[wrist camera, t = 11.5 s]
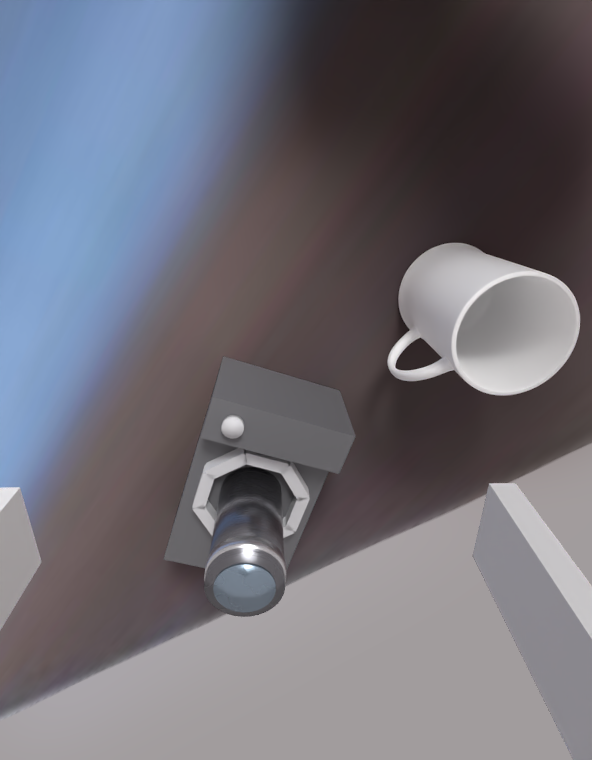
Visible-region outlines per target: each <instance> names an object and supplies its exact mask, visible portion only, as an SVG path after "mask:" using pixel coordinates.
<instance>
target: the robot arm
mask: <svg viewBox="0 0 592 760" xmlns="http://www.w3.org/2000/svg"><path fill="white" fill-rule="evenodd" d="M473 557H474V560H475V562H476V564H477V566H478V568H479V570H480V572H481V574H482V576H483V578H484V580H485V582H486V584H487V586H488V588H489V590H490V592H491V594H492V596H493V598H494V600H495V602H496V604H497V606H498V608H499V610H500V612H501V614H502V617H503V618H504V621H505V623H506V625H507V627H508V629H509V631H510V632H511V635H512V637H513V639H514V641H515V643H516V645H517V647H518V649H519V651H520V653H521V655H522V657H523V659H524V661H525V663H526V665H527V667H528V669H529V671H530V673H531V675H532V677H533V679H534V681H535V683H536V685H537V687H538V689H539V692H540V693H541V696H542V697H543V700H544V702H545V704H546V706H547V708H548V710H549V712H550V714H551V716H552V718H553V720H554V722H555V724H556V726H557V728H558V730H559V732H560V734H561V736H562V738H563V740H564V742H565V744H566V746H567V748H568V750H569V752H570V754H571V756H572V758H573V760H592V585H591V584H590V583H589V581H588V580H587V579H586V577H585V576H584V575H583V573H582V572H581V571H580V569H579V568H578V566H577V565H576V564H575V563H574V561H573V560H572V558H571V557H570V556H569V555H568V553H567V552H566V550H565V549H564V548H563V546H562V545H561V544H560V542H559V541H558V540H557V538H556V537H555V536H554V534H553V533H552V531H551V530H550V529H549V528H548V526H547V525H546V523H545V522H544V521H543V519H542V518H541V517H540V515H539V514H538V513H537V511H536V510H535V509H534V507H533V506H532V505H531V503H530V502H529V500H528V499H527V498H526V496H525V495H524V494H523V492H522V491H521V490H520V488H519V487H518V486H517V484H516V483H489V487H488V491H487V495H486V500H485V504H484V508H483V513H482V518H481V521H480V526H479V530H478V535H477V539H476V543H475V548H474V552H473ZM40 564H41V558H40V555H39V551H38V548H37V545H36V541H35V538H34V534H33V531H32V527H31V524H30V521H29V517H28V514H27V510H26V507H25V503H24V500H23V496H22V493H21V490H20V488H0V630H1V628H2V627H3V625H4V623H5V622H6V620H7V618H8V617H9V615H10V613H11V612H12V610H13V609H14V607H15V605H16V604H17V602H18V600H19V599H20V597H21V595H22V594H23V592H24V590H25V589H26V587H27V585H28V584H29V582H30V580H31V579H32V577H33V575H34V574H35V572H36V570H37V569H38V567H39V565H40Z"/></svg>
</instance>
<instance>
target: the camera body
mask: <svg viewBox="0 0 592 760" xmlns="http://www.w3.org/2000/svg"><path fill="white" fill-rule="evenodd" d="M355 437H356V436H355V433H354V430H353V428H352V425H351V422H350V419H349V416H348V413H347V410H346V407H345V404H344V401H343V398H342V396H341V393H340V391H339V390H336V389H333V388H329V387H326V386H323V385H319V384H316V383H312V382H309V381H306V380H302V379H299V378H295V377H292V376H289V375H285V374H282V373H278V372H275V371H272V370H268V369H265V368H262V367H258V366H255V365H251V364H248V363H245V362H241V361H238V360H234V359H231V358H228V357H224V356H223V359H222V362H221V366H220V369H219V372H218V376H217V379H216V382H215V386H214V389H213V392H212V396H211V399H210V403H209V406H208V409H207V413H206V416H205V419H204V423H203V426H202V429H201V433H200V436H199V439H198V443H197V446H196V449H195V453H194V456H193V459H192V463H191V466H190V469H189V473H188V476H187V479H186V483H185V486H184V490H183V493H182V496H181V500H180V503H179V506H178V510H177V513H176V516H175V520H174V524H173V527H172V531H171V534H170V538H169V541H168V545H167V549H166V552H165V556H164V560H168V561H173V562H178V563H182V564H187V565H192V566H197V567H201V568H205V567H206V562H207V558H208V556H209V553H210V547H211V541H212V535H213V530H214V524H215V518H216V512H217V506H218V500H219V494H220V489H221V485H222V483H223V481H224V480H225V478H226V477H227V476H228V475H229V474H231V473H232V472H234V471H236V470H238V469H241V468H246V467H256V468H261V469H264V470H266V471H268V472H270V473H271V474H272V475H274V476H275V477H276V478H277V480H278V481H279V483H280V485H281V489H282V512H283V541H284V558H285V562H286V570H287V568H288V565H289V563H290V561H291V558H292V556H293V554H294V551H295V549H296V547H297V544H298V542H299V540H300V537H301V535H302V533H303V530H304V528H305V526H306V523H307V521H308V519H309V516H310V514H311V512H312V509H313V507H314V505H315V503H316V500H317V498H318V496H319V493H320V491H321V489H322V486H323V484H324V482H325V479H326V477H327V475H328V472H333V473H337V474H339V473H340V471H341V468H342V466H343V464H344V462H345V459H346V457H347V455H348V453H349V450H350V448H351V446H352V443H353V441H354V439H355Z"/></svg>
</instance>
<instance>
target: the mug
mask: <svg viewBox="0 0 592 760" xmlns="http://www.w3.org/2000/svg"><path fill="white" fill-rule="evenodd" d="M398 303H399V310H400V314H401V316H402V319H403V321H404V323H405V324H406V326H407V327H408V328H409V329H410V330H409V331H408V332H407V333H406V334H405V335H404V336H403V337H402V338H401V339H400V340H399V341H398V342H397V343H396V344H395V345H394V347H393V348H392V350H391V352H390V354H389V356H388V361H387V364H388V368H389V370H390V372H391V373H392V375H394V376H395V377H396V378H398V379H400V380H404V381H419V380H424V379H429V378H432V377H435V376H438V375H441V374H443V373H446V372H448V371H453V370H455V371H456V372H457V373H458V374H459V375H460V376H461V377H462V378H463V379H464V380H465V381H466V382H467V383H468V384H469V385H471V386H472V387H474V388H475V389H477V390H479V391H482V392H484V393H488V394H492V395H514V394H519V393H522V392H526V391H528V390H531V389H533V388H535V387H537V386H539V385H541V384H542V383H544V382H545V381H547V380H548V379H549V378H551V377H552V376H553V375H554V374H555V373H556V372H557V371H558V370H559V369H560V368H561V367H562V366H563V365H564V363H565V362H566V361H567V359H568V358H569V356H570V355H571V353H572V351H573V349H574V347H575V344H576V341H577V338H578V334H579V329H580V313H579V308H578V304H577V301H576V299H575V297H574V295H573V294H572V292H571V291H570V289H569V288H568V287H567V286H566V285H565V284H564V283H563V282H561V281H560V280H559V279H557V278H555V277H553V276H551V275H549V274H546V273H544V272H540V271H537V270H534V269H531V268H528V267H525V266H522V265H519V264H516V263H513V262H510V261H507V260H504V259H500V258H497V257H494V256H491V255H488V254H485V253H483V252H482V251H481V250H479V249H478V248H476V247H474V246H471V245H468V244H464V243H447V244H442V245H439V246H436V247H433V248H431V249H429V250H428V251H426V252H424V253H423V254H422V255H420V256H419V257H418V258H417V259H416V260H415V261H414V262H413V263H412V264H411V266H410V267H409V268H408V270H407V271H406V273H405V275H404V277H403V279H402V282H401V285H400V289H399V296H398ZM418 338H422V339H424V340H425V341H426V342H427V343H428V344H429V345H430V346H431V347H432V348H433V349H434V350H435V351H436V352H437V353H438V354H439V355H440V356H441V357H442V359H440V360H439V361H437V362H435V363H433V364H431V365H429V366H426V367H423V368H419V369H415V370H408V371H404V370H398V369H396V368H395V365H396V361H397V359H398V357H399V356H400V354H401V353H402V352H403V350H404V349H405V348H406V347H407V346H408V345H410V344H411V343H412V342H413V341H415V340H416V339H418Z"/></svg>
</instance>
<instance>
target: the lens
mask: <svg viewBox="0 0 592 760" xmlns="http://www.w3.org/2000/svg"><path fill="white" fill-rule="evenodd" d="M285 583H286V562H285V558H284V541H283V512H282V489H281V485H280V483H279V481H278V480H277V478H276V477H275V476H274V475H272V474H271V473H270V472H268V471H266V470H264V469H261V468H256V467H246V468H241V469H238V470H236V471H234V472H232V473H231V474H229V475H228V476H227V477H226V478H225V480H224V481H223V483H222V485H221V489H220V494H219V500H218V506H217V512H216V518H215V524H214V530H213V535H212V541H211V547H210V553H209V556H208V558H207V562H206V567H205V573H204V590H205V594H206V596H207V598H208V600H209V601H210V603H211V604H212V605H213V606H214V607H216V608H217V609H219V610H220V611H222V612H224V613H227V614H230V615H234V616H254V615H259V614H261V613H264V612H266V611H268V610H270V609H271V608H273V607H274V606H275V605H276V604H277V603H278V602H279V601H280V600H281V598H282V596H283V594H284V590H285Z"/></svg>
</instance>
